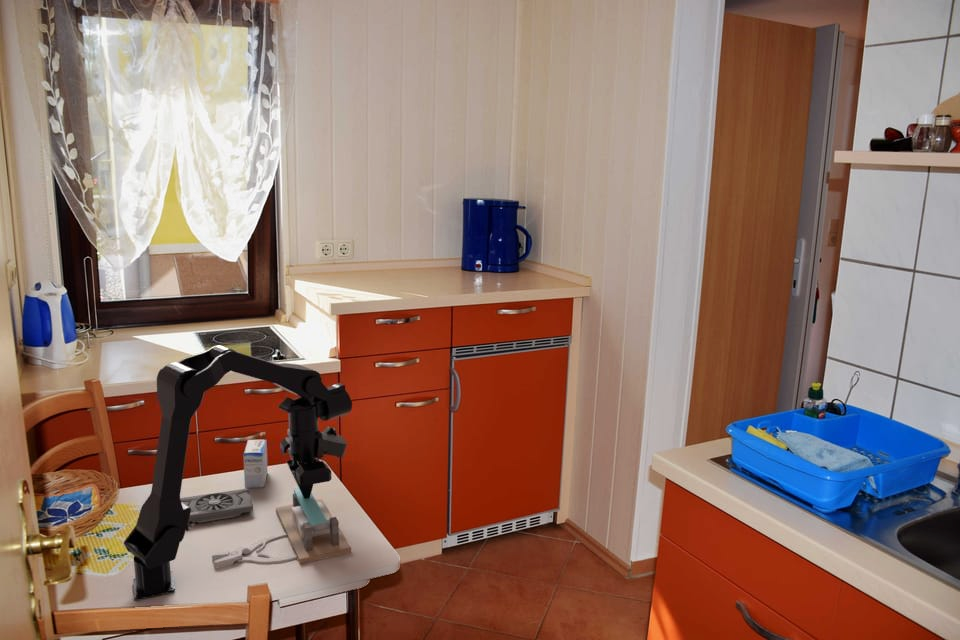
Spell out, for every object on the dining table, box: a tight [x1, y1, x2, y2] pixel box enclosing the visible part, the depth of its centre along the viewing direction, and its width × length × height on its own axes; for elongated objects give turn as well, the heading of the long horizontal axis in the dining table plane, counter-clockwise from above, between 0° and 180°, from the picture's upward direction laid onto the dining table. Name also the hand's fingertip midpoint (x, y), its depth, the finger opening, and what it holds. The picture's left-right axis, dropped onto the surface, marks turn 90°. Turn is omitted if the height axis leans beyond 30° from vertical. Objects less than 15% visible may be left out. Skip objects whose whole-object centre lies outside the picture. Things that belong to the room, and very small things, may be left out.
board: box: [275, 498, 352, 565], centre depth 151 cm, size 22×10×6 cm, turn 26°
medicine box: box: [243, 439, 268, 489], centre depth 173 cm, size 8×4×9 cm, turn 10°
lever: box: [293, 487, 330, 532], centre depth 151 cm, size 17×3×1 cm, turn 26°
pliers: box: [211, 532, 297, 569], centre depth 143 cm, size 10×2×15 cm
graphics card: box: [180, 488, 254, 527], centre depth 157 cm, size 17×4×12 cm
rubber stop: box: [292, 493, 301, 507], centre depth 158 cm, size 2×4×5 cm, turn 116°
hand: (306, 497), depth 154 cm, fingers closed, pressing on lever
